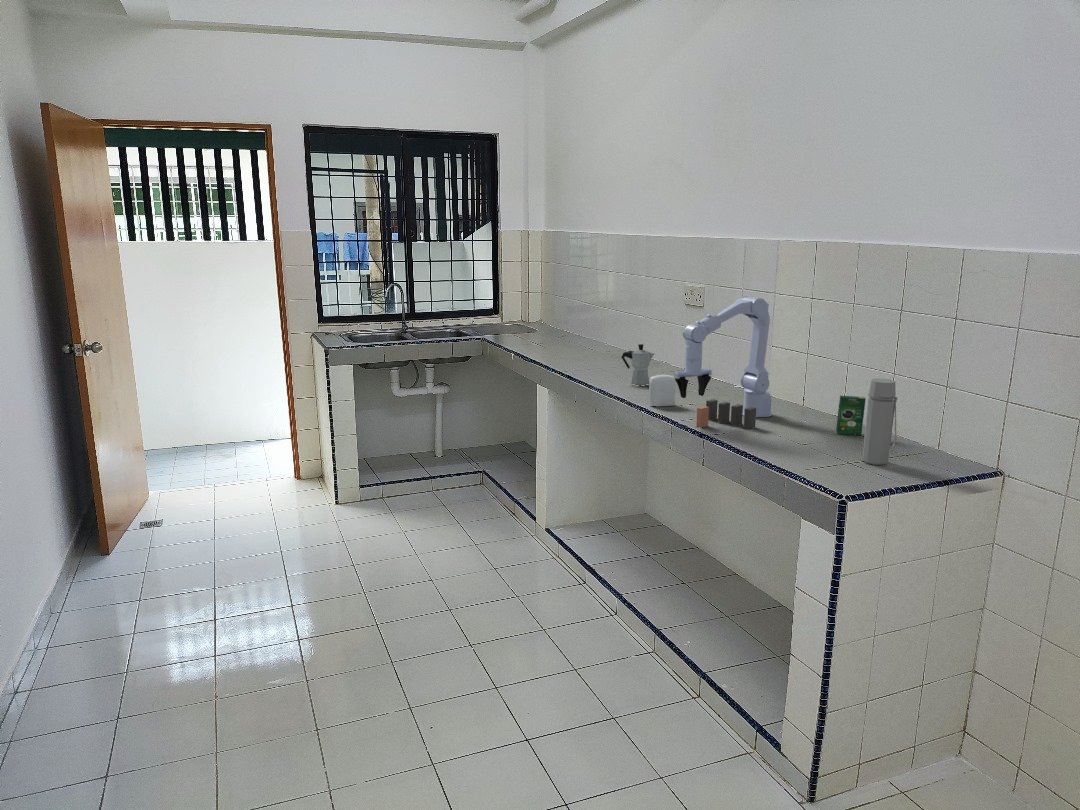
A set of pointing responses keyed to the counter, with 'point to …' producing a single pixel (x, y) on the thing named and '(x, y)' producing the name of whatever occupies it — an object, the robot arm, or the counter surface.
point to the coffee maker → (639, 365)
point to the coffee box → (850, 415)
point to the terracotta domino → (702, 416)
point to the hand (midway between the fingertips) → (692, 396)
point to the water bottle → (879, 421)
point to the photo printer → (662, 390)
